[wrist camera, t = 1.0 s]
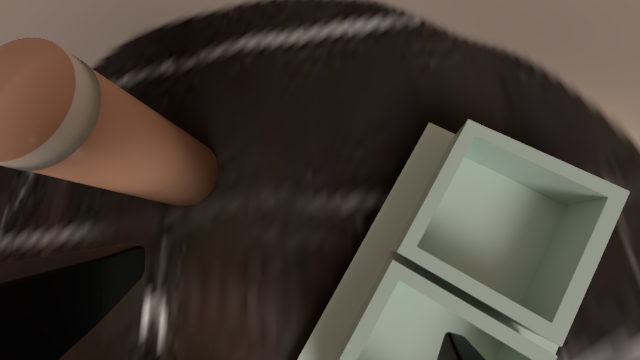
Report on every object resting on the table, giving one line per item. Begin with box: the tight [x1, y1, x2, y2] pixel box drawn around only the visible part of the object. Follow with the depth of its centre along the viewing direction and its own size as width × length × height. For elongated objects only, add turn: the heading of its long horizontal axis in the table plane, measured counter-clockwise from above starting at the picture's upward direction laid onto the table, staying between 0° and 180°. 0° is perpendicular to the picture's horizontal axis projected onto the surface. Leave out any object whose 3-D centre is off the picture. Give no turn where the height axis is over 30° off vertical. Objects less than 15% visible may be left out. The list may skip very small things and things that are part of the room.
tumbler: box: [0, 38, 218, 207], centre depth 19 cm, size 6×6×13 cm
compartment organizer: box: [297, 119, 630, 360], centre depth 18 cm, size 20×13×4 cm, turn 149°
